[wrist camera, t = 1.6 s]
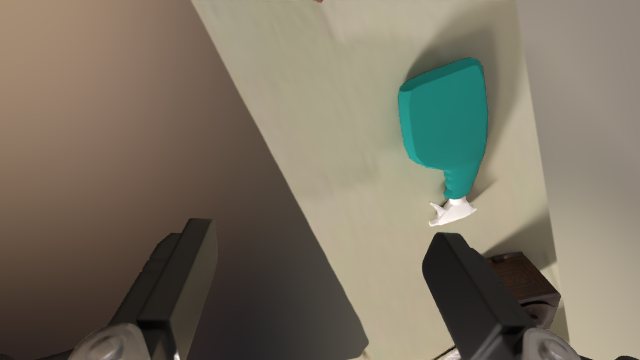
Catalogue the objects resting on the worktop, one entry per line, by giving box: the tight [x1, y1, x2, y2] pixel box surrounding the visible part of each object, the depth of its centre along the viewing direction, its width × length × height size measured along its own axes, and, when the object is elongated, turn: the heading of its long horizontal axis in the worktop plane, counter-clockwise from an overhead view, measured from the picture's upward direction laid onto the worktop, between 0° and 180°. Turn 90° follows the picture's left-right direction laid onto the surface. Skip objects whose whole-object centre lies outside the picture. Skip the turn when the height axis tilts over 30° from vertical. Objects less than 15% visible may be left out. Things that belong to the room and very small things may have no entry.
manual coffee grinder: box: [486, 252, 561, 329], centre depth 47 cm, size 16×11×18 cm
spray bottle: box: [398, 58, 488, 227], centre depth 39 cm, size 3×11×24 cm
